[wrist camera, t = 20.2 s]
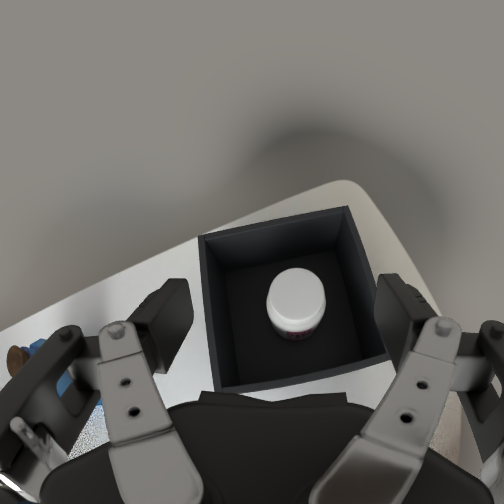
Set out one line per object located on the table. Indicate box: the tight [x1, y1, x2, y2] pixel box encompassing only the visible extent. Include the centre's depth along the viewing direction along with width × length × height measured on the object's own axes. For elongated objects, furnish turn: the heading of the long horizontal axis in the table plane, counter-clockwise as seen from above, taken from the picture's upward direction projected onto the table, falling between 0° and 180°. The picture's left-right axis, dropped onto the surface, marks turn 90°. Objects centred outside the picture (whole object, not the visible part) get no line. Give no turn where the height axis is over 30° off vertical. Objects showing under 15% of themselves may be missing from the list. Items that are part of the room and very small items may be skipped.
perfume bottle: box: [7, 338, 102, 405], centre depth 22 cm, size 6×6×12 cm
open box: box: [198, 205, 391, 394], centre depth 24 cm, size 13×13×8 cm
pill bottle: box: [266, 268, 326, 341], centre depth 23 cm, size 5×5×8 cm
